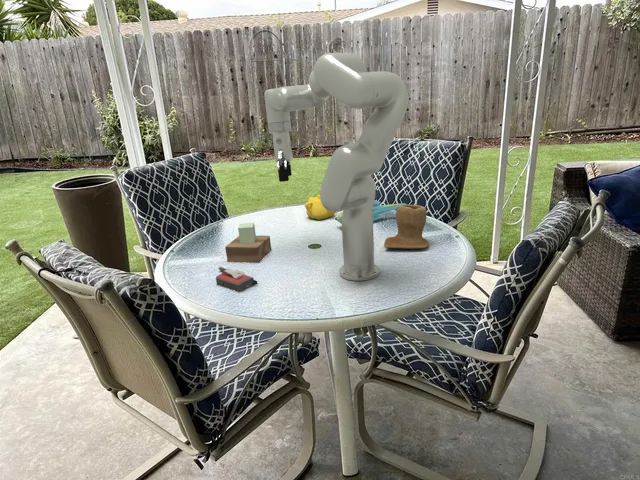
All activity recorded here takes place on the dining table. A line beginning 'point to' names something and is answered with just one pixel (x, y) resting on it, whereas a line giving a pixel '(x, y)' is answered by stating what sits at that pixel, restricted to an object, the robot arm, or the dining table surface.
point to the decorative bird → (375, 210)
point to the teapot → (317, 209)
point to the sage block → (247, 233)
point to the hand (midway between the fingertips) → (285, 178)
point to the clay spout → (409, 228)
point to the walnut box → (248, 250)
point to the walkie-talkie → (235, 280)
